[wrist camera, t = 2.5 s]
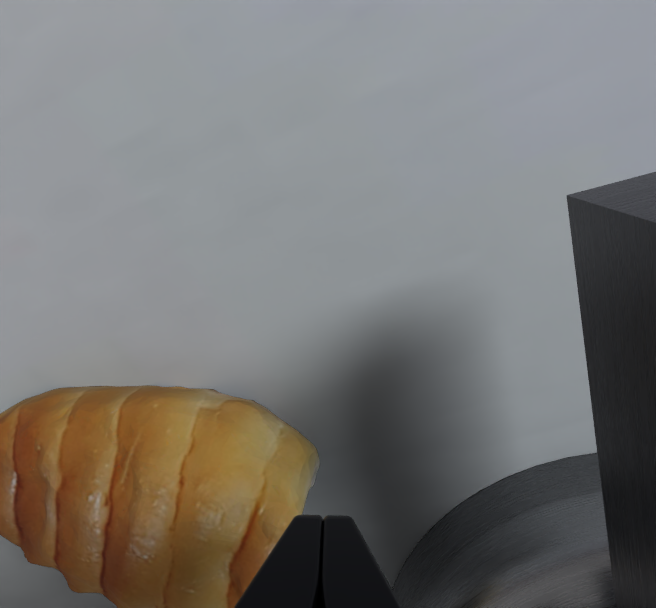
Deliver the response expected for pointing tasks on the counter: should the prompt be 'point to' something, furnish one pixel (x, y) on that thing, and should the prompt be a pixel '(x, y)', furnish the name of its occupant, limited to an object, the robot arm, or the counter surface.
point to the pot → (518, 545)
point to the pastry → (150, 490)
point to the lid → (622, 368)
